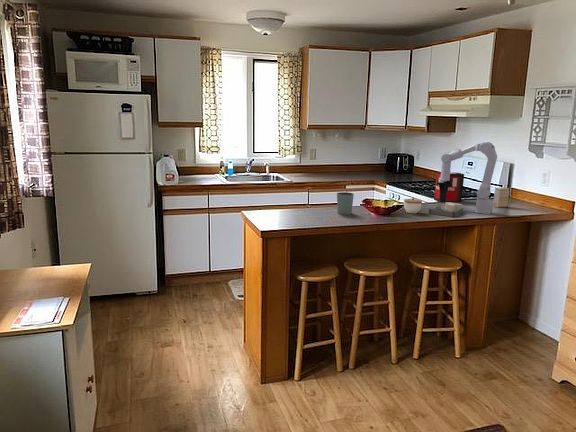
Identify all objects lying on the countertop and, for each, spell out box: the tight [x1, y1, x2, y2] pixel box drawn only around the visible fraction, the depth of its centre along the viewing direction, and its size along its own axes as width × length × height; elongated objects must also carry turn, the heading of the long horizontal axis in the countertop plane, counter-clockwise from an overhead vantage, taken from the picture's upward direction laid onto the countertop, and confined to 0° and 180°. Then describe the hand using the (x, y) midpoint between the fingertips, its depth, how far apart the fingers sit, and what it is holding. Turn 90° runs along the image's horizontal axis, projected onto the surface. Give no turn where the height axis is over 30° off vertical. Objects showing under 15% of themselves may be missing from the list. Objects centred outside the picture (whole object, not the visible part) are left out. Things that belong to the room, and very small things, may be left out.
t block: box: [444, 202, 463, 212], centre depth 309 cm, size 10×10×4 cm
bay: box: [428, 204, 464, 218], centre depth 299 cm, size 15×20×3 cm
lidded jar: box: [403, 197, 423, 214], centre depth 297 cm, size 11×11×9 cm
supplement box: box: [492, 186, 510, 208], centre depth 326 cm, size 8×5×13 cm, turn 108°
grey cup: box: [336, 191, 354, 215], centre depth 288 cm, size 10×10×12 cm
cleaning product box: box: [433, 171, 465, 203], centre depth 342 cm, size 16×9×20 cm, turn 98°
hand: (443, 192), depth 318 cm, fingers open, 7 cm apart
